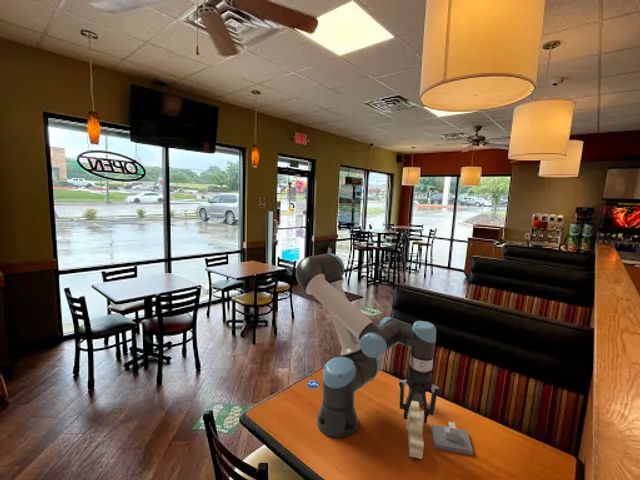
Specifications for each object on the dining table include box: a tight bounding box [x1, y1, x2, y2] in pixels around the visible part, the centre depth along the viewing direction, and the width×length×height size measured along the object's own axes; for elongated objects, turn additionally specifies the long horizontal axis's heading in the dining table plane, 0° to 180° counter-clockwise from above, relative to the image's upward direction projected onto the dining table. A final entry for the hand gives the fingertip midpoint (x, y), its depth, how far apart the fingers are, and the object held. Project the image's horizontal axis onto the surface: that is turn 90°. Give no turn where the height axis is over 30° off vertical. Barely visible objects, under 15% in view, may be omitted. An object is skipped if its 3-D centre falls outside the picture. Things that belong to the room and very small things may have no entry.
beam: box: [407, 401, 425, 460], centre depth 112 cm, size 22×4×5 cm, turn 167°
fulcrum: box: [431, 421, 474, 456], centre depth 111 cm, size 12×10×6 cm
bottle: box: [407, 387, 423, 407], centre depth 131 cm, size 6×6×15 cm
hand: (414, 428), depth 112 cm, fingers closed on beam, 4 cm apart
